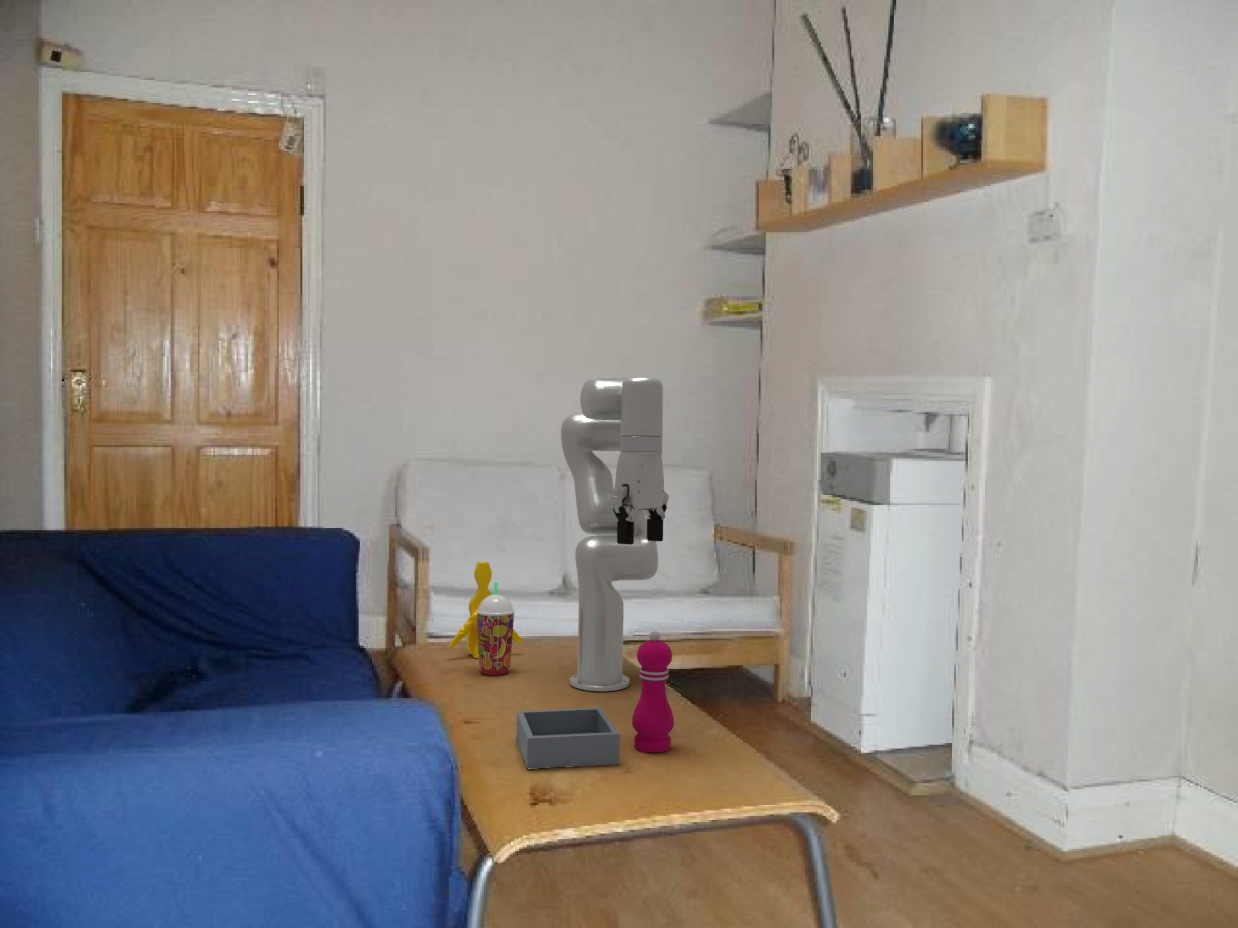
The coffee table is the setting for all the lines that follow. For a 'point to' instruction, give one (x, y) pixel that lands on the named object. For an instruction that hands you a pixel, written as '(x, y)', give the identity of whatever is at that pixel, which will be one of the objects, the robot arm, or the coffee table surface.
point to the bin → (567, 738)
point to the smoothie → (495, 633)
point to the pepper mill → (653, 697)
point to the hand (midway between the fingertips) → (640, 542)
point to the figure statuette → (470, 627)
